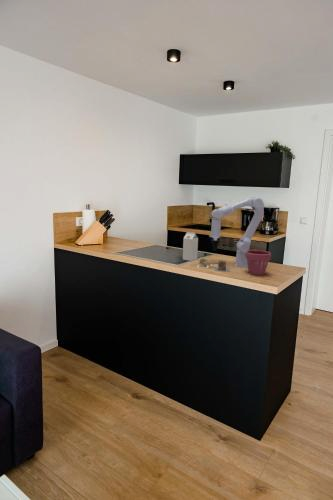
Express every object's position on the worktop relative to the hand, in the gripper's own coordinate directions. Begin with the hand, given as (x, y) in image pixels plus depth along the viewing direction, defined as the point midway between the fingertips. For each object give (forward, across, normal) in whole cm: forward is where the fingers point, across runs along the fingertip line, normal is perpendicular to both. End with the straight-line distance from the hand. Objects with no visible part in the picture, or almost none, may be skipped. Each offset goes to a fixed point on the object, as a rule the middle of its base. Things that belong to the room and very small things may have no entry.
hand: (214, 250), depth 216 cm
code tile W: (+10, +1, +1) cm, 10 cm away
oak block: (+10, +6, -7) cm, 13 cm away
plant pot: (+10, +14, +25) cm, 31 cm away
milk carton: (+10, -12, -16) cm, 23 cm away
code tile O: (+10, +6, -7) cm, 14 cm away
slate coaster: (+10, +12, +5) cm, 16 cm away
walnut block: (+9, +12, +5) cm, 16 cm away
